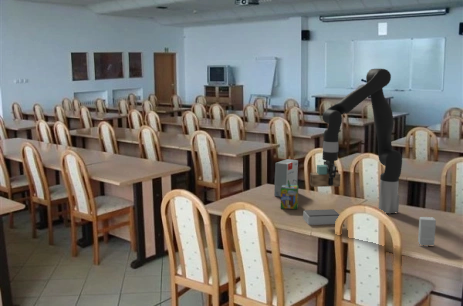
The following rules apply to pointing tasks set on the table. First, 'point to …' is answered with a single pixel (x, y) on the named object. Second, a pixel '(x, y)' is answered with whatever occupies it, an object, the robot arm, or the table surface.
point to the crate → (321, 169)
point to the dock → (320, 216)
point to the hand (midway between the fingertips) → (329, 183)
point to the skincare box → (426, 230)
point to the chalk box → (289, 196)
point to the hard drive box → (285, 174)
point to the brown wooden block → (323, 180)
